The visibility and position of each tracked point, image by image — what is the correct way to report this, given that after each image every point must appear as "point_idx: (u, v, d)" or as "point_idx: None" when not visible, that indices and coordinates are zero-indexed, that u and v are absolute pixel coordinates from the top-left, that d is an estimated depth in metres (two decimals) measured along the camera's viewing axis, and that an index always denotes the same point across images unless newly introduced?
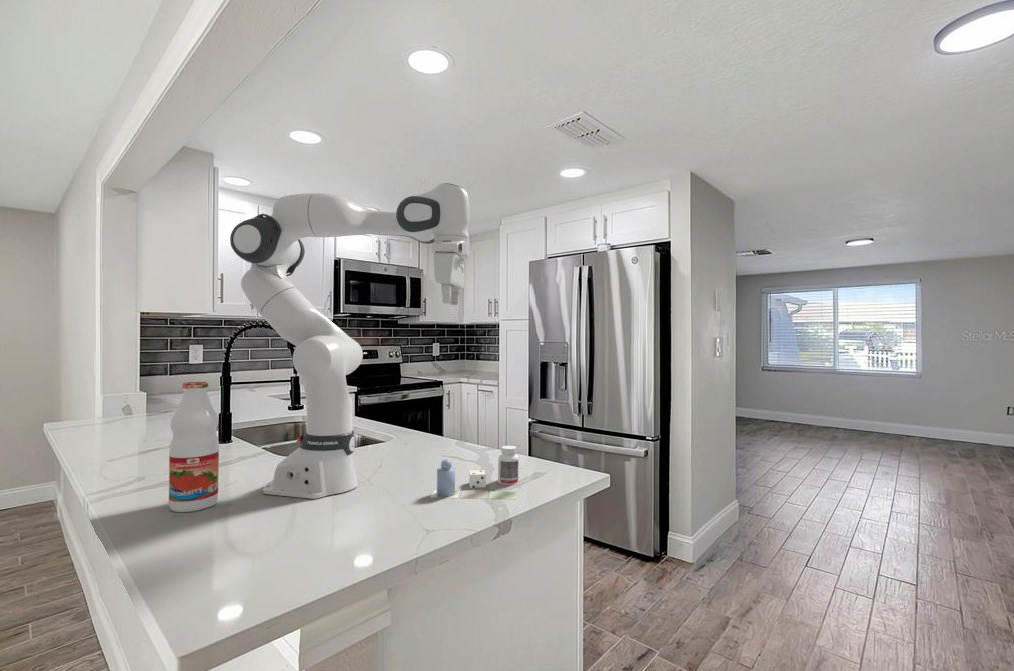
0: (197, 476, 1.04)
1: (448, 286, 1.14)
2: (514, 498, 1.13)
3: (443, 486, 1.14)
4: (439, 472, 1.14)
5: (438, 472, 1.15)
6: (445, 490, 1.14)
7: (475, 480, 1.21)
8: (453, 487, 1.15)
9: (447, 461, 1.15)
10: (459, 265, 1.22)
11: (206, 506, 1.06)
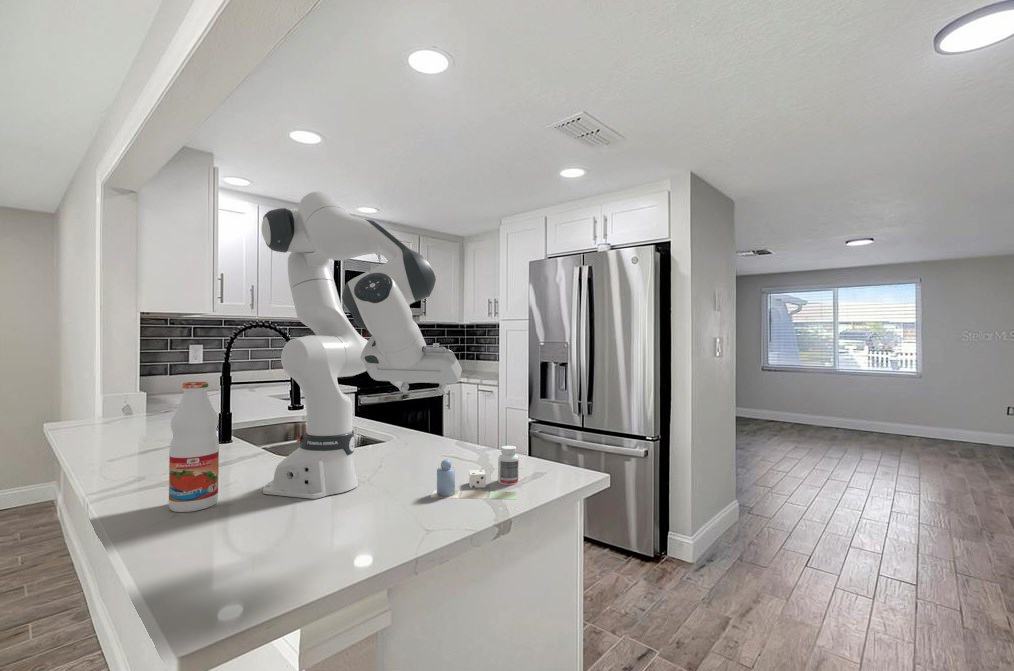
0: (197, 476, 1.04)
1: None
2: (514, 498, 1.13)
3: (443, 486, 1.14)
4: (439, 472, 1.14)
5: (438, 472, 1.15)
6: (445, 490, 1.14)
7: (475, 480, 1.21)
8: (453, 487, 1.15)
9: (447, 461, 1.15)
10: (415, 365, 0.95)
11: (206, 506, 1.06)
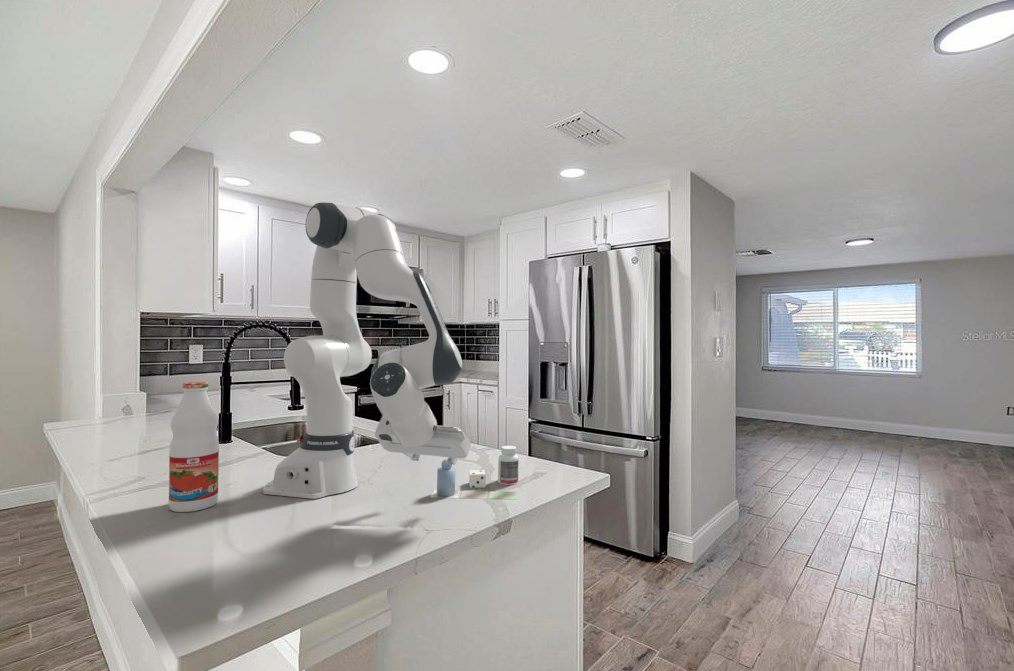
0: (197, 476, 1.04)
1: None
2: (514, 498, 1.13)
3: (443, 486, 1.14)
4: (439, 471, 1.14)
5: (438, 471, 1.15)
6: (445, 490, 1.14)
7: (475, 480, 1.21)
8: (453, 487, 1.15)
9: (447, 461, 1.15)
10: (426, 442, 1.01)
11: (206, 506, 1.06)
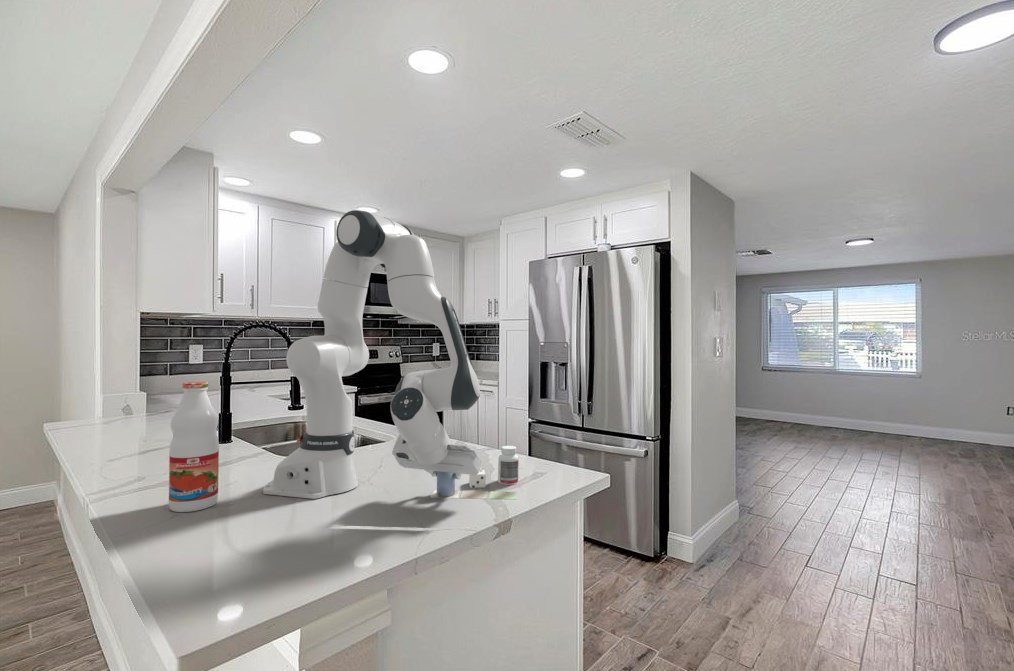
0: (197, 476, 1.04)
1: None
2: (514, 498, 1.13)
3: (442, 486, 1.14)
4: (438, 472, 1.14)
5: (437, 472, 1.15)
6: (444, 490, 1.14)
7: (475, 480, 1.21)
8: (452, 487, 1.15)
9: None
10: None
11: (206, 506, 1.06)
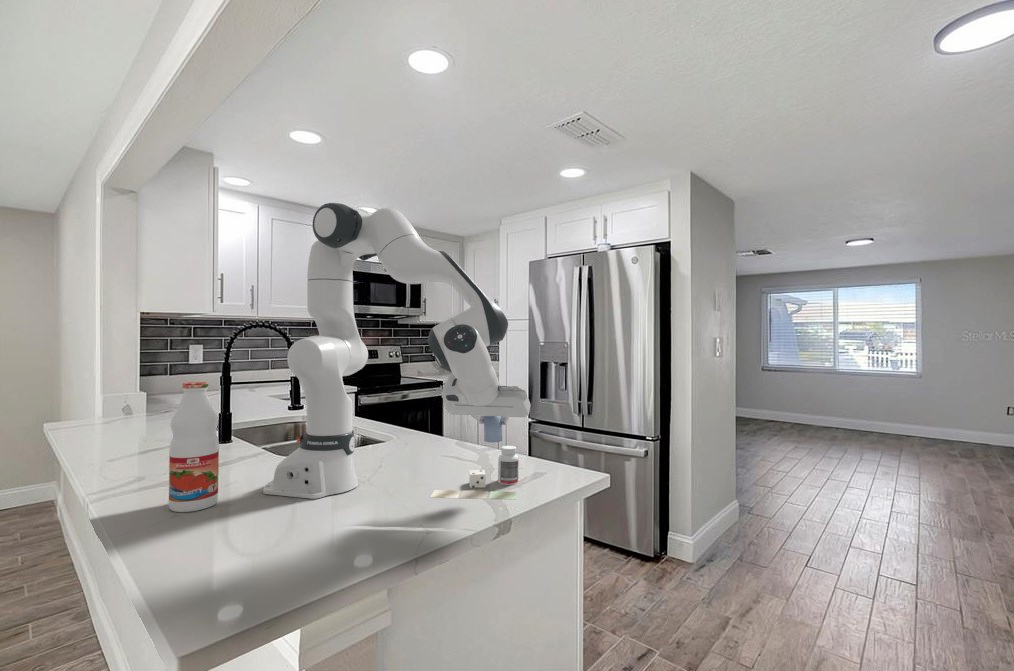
0: (197, 476, 1.04)
1: None
2: (514, 498, 1.13)
3: (490, 432, 1.13)
4: (485, 418, 1.14)
5: (485, 418, 1.14)
6: (492, 436, 1.13)
7: (474, 480, 1.21)
8: (500, 433, 1.14)
9: None
10: (490, 402, 1.07)
11: (206, 506, 1.06)
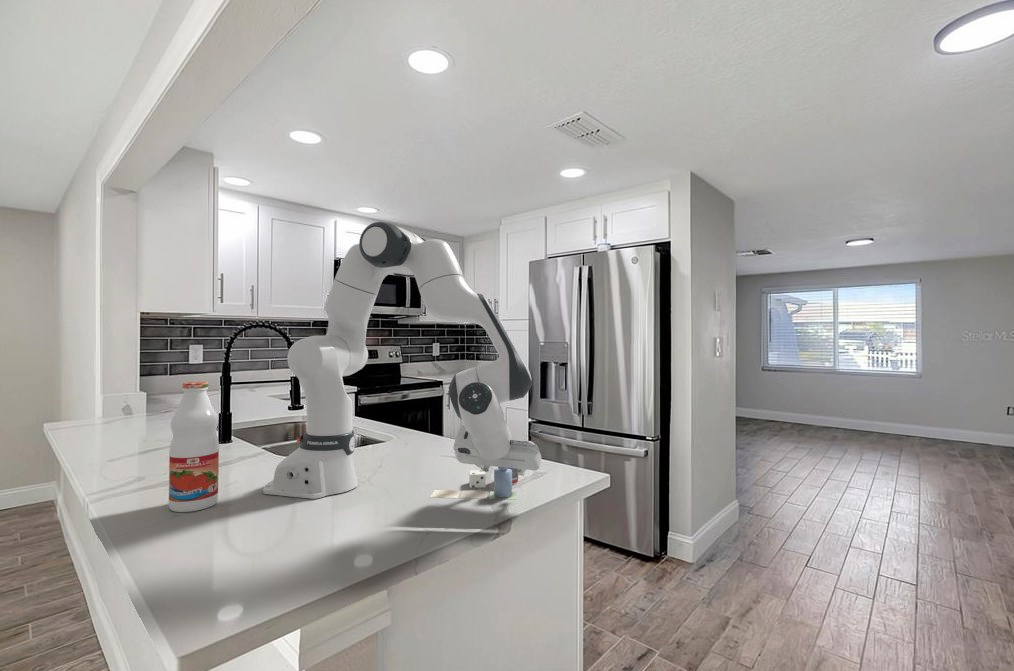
0: (197, 476, 1.04)
1: None
2: (514, 498, 1.13)
3: (500, 487, 1.13)
4: (496, 473, 1.14)
5: (495, 473, 1.14)
6: (502, 491, 1.13)
7: (474, 480, 1.21)
8: (510, 488, 1.14)
9: None
10: None
11: (206, 506, 1.06)
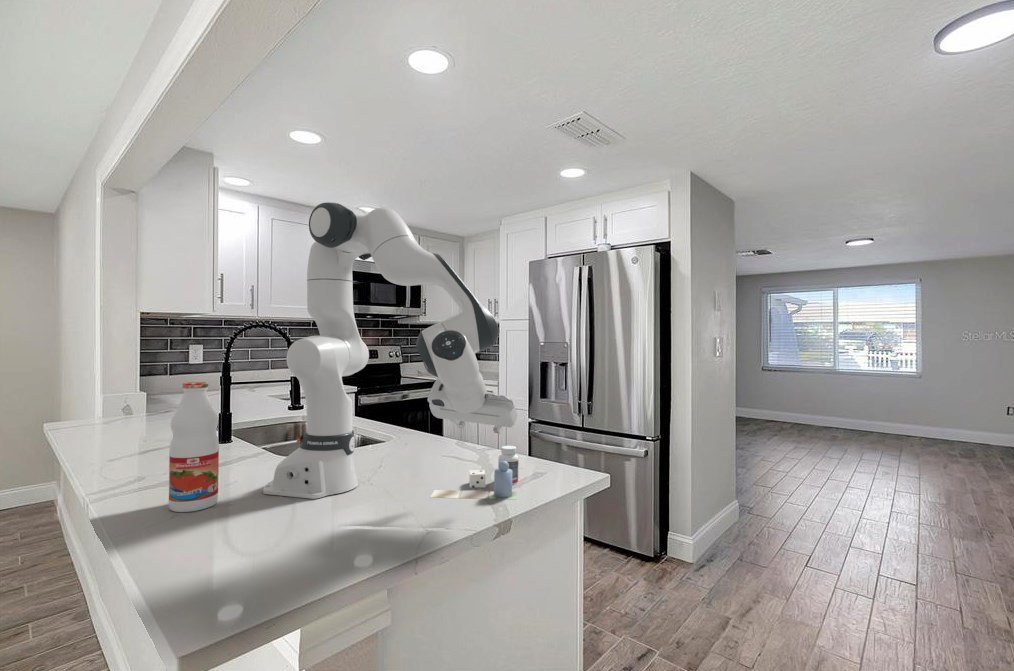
0: (197, 476, 1.04)
1: None
2: (514, 498, 1.13)
3: (501, 487, 1.13)
4: (496, 473, 1.14)
5: (496, 473, 1.14)
6: (503, 491, 1.13)
7: (474, 480, 1.21)
8: (510, 489, 1.14)
9: (505, 462, 1.15)
10: (476, 410, 1.05)
11: (206, 506, 1.06)
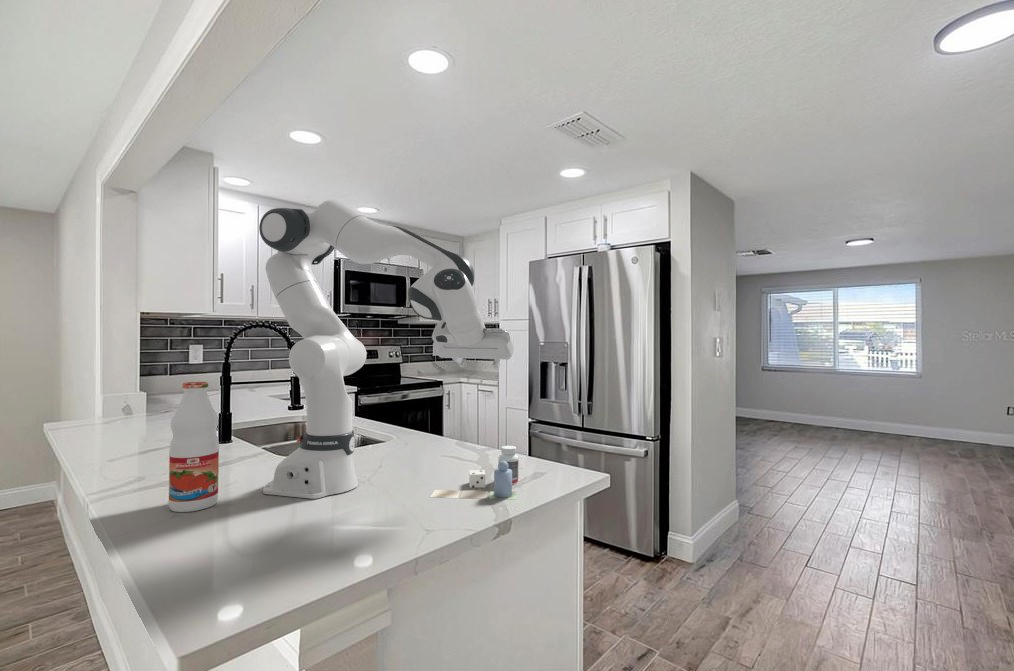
0: (197, 476, 1.04)
1: None
2: (514, 498, 1.13)
3: (501, 488, 1.13)
4: (496, 473, 1.14)
5: (495, 473, 1.14)
6: (503, 492, 1.13)
7: (474, 480, 1.21)
8: (510, 489, 1.14)
9: (504, 462, 1.15)
10: None
11: (206, 506, 1.06)
